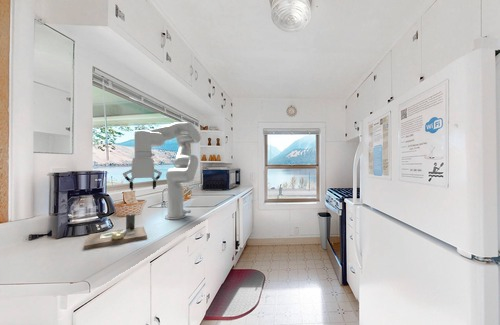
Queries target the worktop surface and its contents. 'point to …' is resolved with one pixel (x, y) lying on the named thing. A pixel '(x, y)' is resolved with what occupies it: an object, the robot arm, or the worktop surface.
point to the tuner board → (106, 239)
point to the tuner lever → (129, 226)
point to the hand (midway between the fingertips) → (143, 189)
